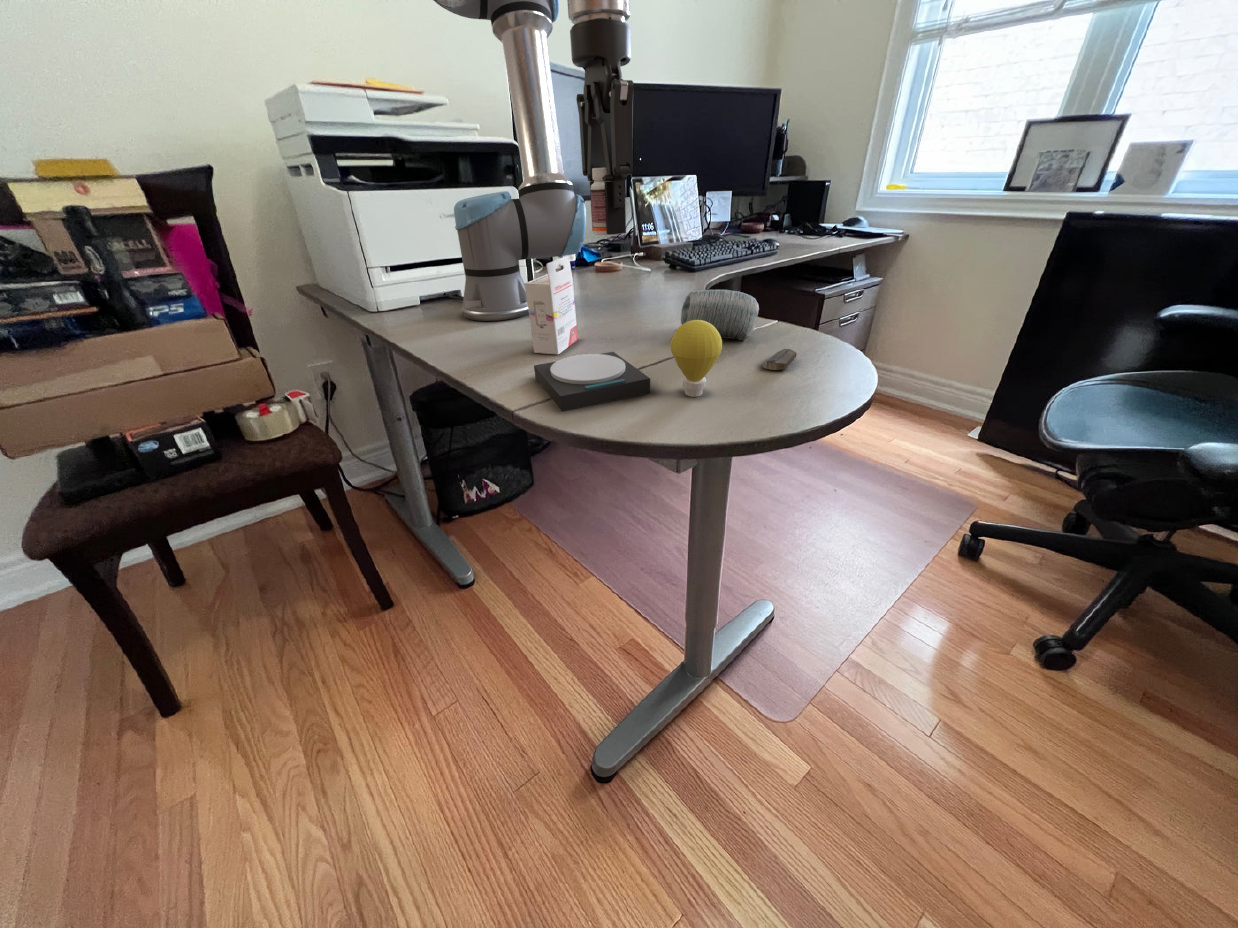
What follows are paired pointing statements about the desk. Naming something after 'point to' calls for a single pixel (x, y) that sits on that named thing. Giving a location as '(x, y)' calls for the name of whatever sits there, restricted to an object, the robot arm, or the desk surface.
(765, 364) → the block
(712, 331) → the light bulb
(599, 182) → the pill bottle
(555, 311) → the ink cartridge box
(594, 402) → the scale
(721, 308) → the spool
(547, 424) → the desk surface
